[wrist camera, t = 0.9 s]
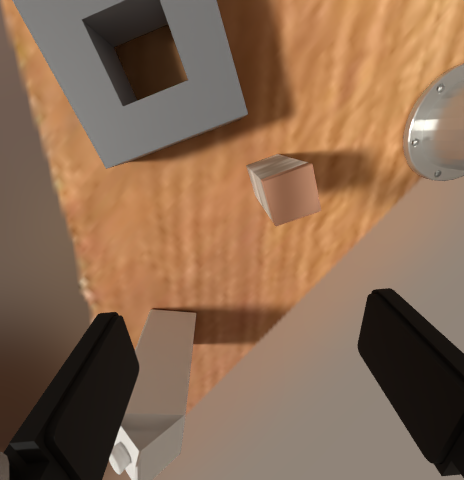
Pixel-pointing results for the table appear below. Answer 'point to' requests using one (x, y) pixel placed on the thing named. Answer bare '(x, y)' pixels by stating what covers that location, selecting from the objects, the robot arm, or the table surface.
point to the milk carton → (157, 396)
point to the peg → (285, 188)
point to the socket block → (116, 82)
